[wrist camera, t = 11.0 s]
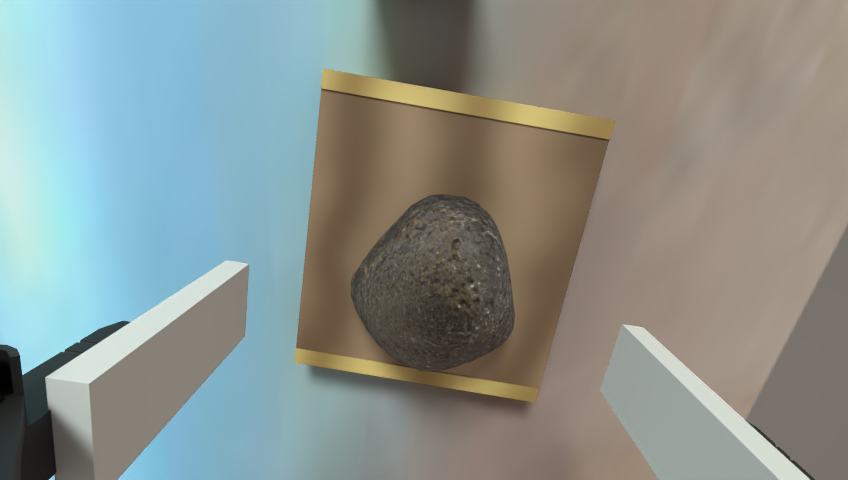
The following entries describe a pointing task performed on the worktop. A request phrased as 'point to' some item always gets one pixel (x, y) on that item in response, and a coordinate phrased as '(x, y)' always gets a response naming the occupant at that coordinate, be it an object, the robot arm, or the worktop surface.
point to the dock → (454, 175)
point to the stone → (437, 285)
